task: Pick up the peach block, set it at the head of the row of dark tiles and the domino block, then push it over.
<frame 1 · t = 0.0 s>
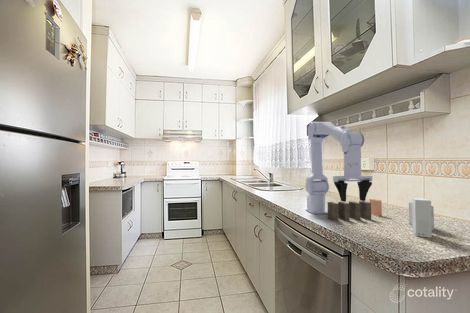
hand: (352, 200, 86), 10 cm above the table, tool pointing down, fingers open, 7 cm apart
dark tile 2: (343, 218, 100), on the table
medicine box: (421, 227, 87), on the table
dark tile 1: (332, 219, 99), on the table
domino block 4: (365, 218, 101), on the table
peach block: (375, 214, 107), on the table
dark tile 3: (354, 218, 101), on the table
skincare box: (421, 235, 78), on the table
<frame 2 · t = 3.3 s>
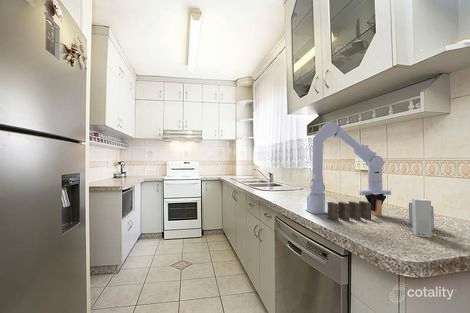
hand: (375, 210, 107), 2 cm above the table, tool pointing down, fingers closed on peach block, 2 cm apart
peach block: (375, 214, 107), on the table, touching gripper
everything else where it was.
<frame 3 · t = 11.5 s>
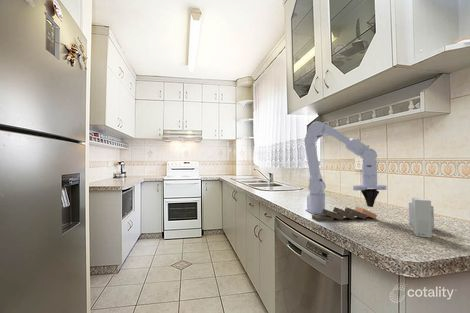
hand: (370, 206, 102), 5 cm above the table, tool pointing down, fingers closed
dark tile 2: (340, 216, 100), point 1 cm above the table, tilted 71°, touching dark tile 3
dark tile 1: (330, 218, 99), on the table, tilted 89°
domino block 4: (362, 216, 101), point 1 cm above the table, tilted 67°, touching dark tile 3, peach block
peach block: (372, 215, 102), point 1 cm above the table, tilted 66°, touching domino block 4
dark tile 3: (350, 216, 100), point 1 cm above the table, tilted 66°, touching dark tile 2, domino block 4
everything else where it was.
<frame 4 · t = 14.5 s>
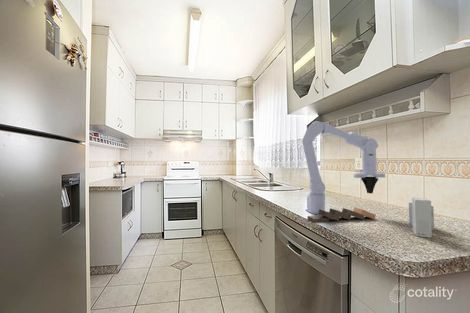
hand: (369, 193, 108), 10 cm above the table, tool pointing down, fingers closed
dark tile 2: (334, 217, 99), point 1 cm above the table, tilted 70°
dark tile 1: (325, 218, 98), on the table, tilted 90°
domino block 4: (359, 216, 101), point 1 cm above the table, tilted 70°, touching dark tile 3, peach block
dark tile 3: (346, 216, 100), point 1 cm above the table, tilted 69°, touching domino block 4
everything else where it was.
at the end: dark tile 1 tilted 90°; peach block tilted 69°; peach block inside the target area (2.2 cm from its centre), point 0.9 cm above the table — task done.
